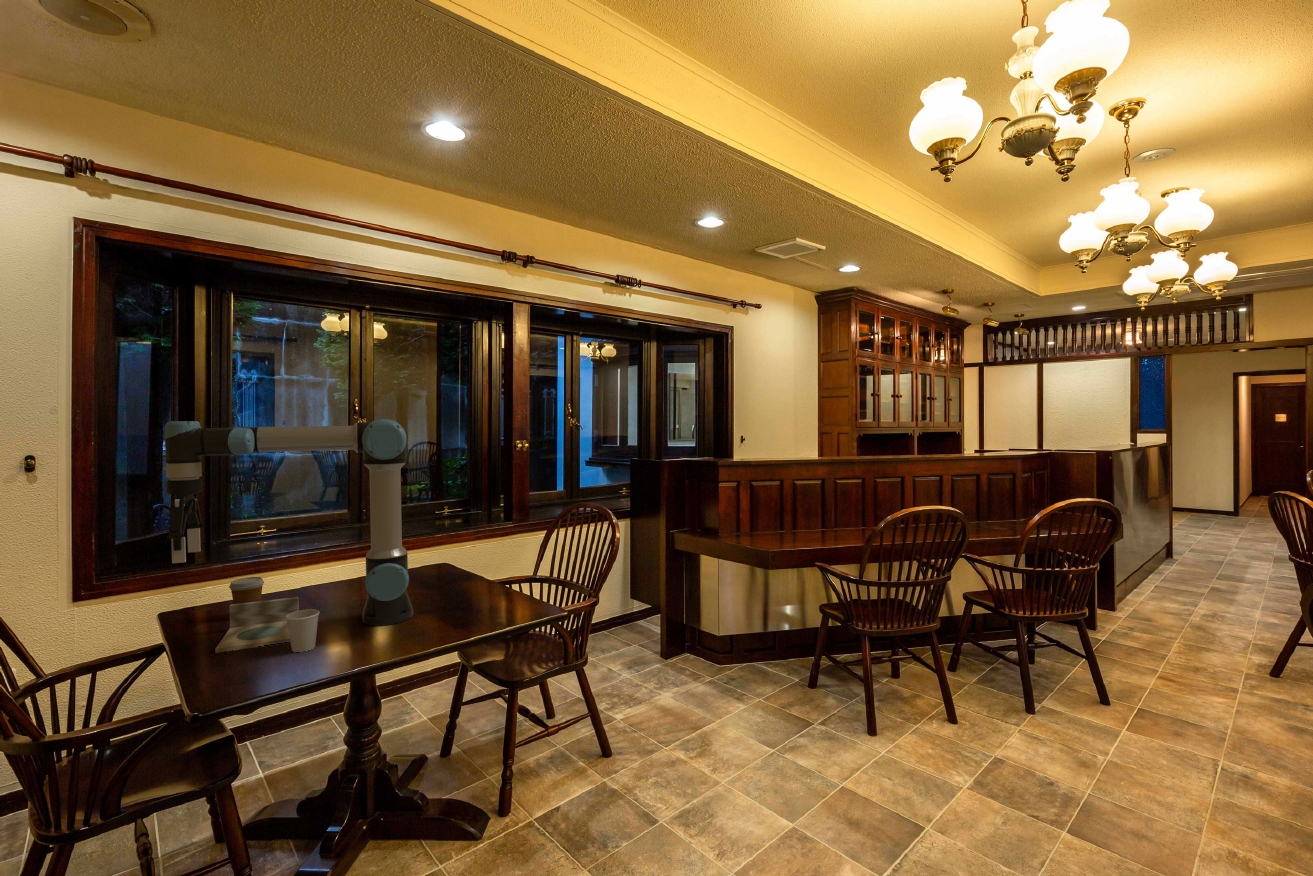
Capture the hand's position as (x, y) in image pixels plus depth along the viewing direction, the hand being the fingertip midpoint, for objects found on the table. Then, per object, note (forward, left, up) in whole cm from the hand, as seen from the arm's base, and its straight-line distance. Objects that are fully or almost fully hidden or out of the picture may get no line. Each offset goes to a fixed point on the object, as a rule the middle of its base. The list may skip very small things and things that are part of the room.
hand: (187, 557), depth 162 cm
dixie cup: (-27, +5, -28) cm, 39 cm away
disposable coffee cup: (-7, -35, -28) cm, 46 cm away
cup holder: (-14, -11, -28) cm, 33 cm away
